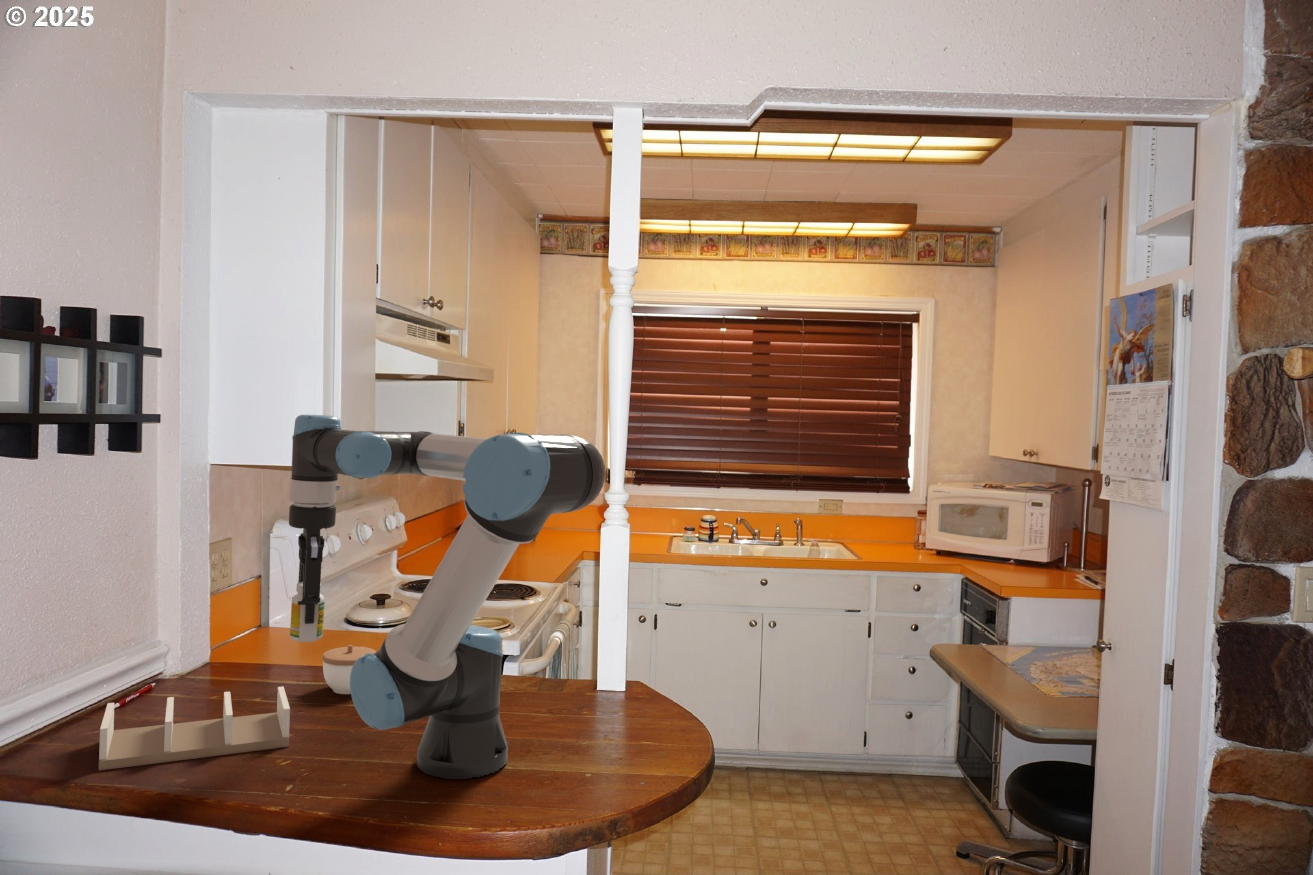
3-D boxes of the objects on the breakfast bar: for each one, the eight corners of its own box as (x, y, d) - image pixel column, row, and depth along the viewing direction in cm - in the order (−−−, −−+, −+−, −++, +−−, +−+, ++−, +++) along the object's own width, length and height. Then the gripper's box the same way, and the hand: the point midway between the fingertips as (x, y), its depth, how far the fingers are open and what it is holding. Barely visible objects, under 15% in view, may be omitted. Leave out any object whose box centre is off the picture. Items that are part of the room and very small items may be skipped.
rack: (288, 746, 151) (290, 709, 151) (98, 770, 138) (99, 729, 138) (282, 719, 163) (283, 685, 163) (106, 739, 150) (107, 702, 150)
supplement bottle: (290, 634, 153) (293, 580, 152) (323, 633, 154) (326, 580, 154) (288, 642, 148) (291, 586, 147) (322, 641, 149) (325, 586, 149)
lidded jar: (348, 701, 175) (350, 655, 175) (309, 691, 180) (311, 647, 179) (386, 687, 185) (387, 643, 185) (348, 678, 189) (349, 636, 189)
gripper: (342, 511, 143) (334, 649, 144) (330, 497, 160) (323, 621, 161) (293, 511, 140) (286, 652, 141) (286, 496, 157) (279, 623, 157)
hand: (306, 635), depth 151 cm, fingers closed on supplement bottle, 5 cm apart
